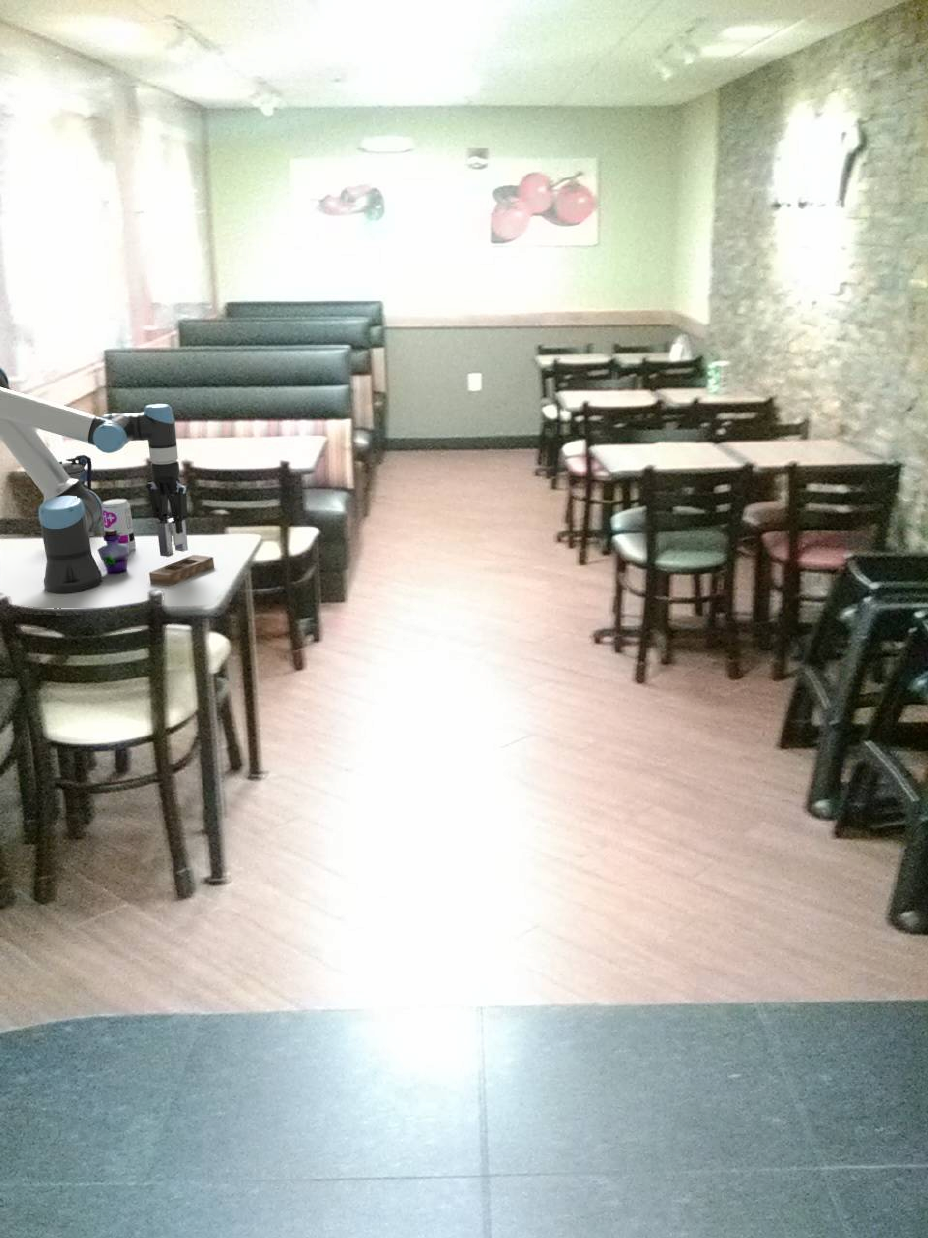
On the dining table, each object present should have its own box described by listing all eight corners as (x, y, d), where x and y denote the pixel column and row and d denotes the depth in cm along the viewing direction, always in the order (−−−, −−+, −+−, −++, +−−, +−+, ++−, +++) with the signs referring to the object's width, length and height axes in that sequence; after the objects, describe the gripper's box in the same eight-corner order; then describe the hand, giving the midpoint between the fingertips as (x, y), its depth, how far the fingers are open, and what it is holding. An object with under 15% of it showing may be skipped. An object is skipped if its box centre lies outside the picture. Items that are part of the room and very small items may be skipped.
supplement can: (119, 555, 340) (111, 506, 335) (102, 551, 345) (94, 503, 340) (141, 548, 346) (134, 500, 341) (124, 545, 351) (117, 497, 346)
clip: (168, 557, 322) (164, 524, 319) (160, 555, 323) (156, 522, 320) (187, 549, 328) (184, 517, 325) (180, 548, 330) (176, 516, 327)
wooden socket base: (169, 586, 309) (168, 575, 308) (150, 583, 312) (148, 572, 311) (214, 567, 323) (213, 557, 322) (195, 564, 326) (194, 554, 326)
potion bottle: (100, 577, 319) (94, 535, 315) (101, 569, 327) (94, 528, 323) (132, 573, 321) (126, 532, 317) (132, 565, 329) (126, 524, 325)
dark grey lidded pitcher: (106, 531, 368) (94, 454, 359) (66, 539, 360) (52, 460, 352) (95, 525, 375) (83, 449, 367) (55, 533, 368) (41, 456, 360)
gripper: (195, 461, 316) (204, 543, 324) (152, 456, 324) (161, 537, 332) (176, 466, 310) (185, 550, 318) (132, 461, 318) (142, 543, 325)
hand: (173, 543), depth 325 cm, fingers closed on clip, 3 cm apart
